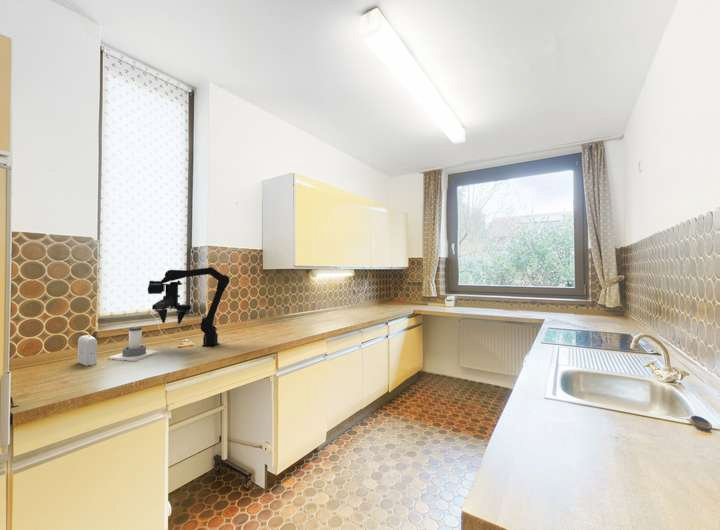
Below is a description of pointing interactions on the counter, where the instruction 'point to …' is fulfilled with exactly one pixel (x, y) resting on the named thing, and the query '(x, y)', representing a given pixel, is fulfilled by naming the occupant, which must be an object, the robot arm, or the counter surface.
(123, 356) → the collar
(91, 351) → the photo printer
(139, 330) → the canister
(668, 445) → the counter surface
